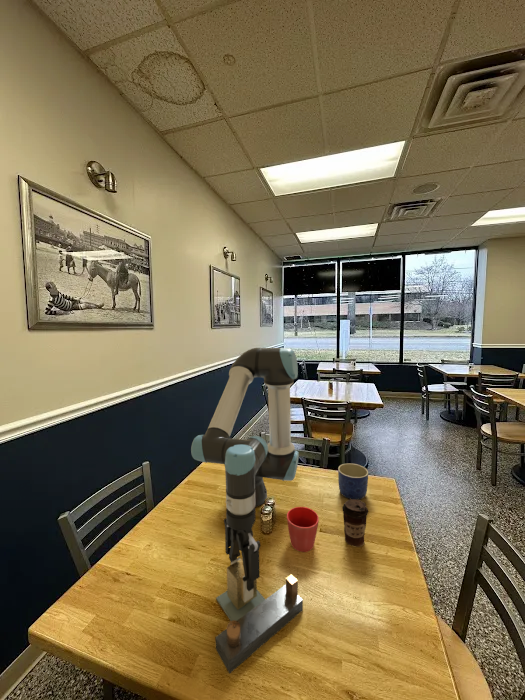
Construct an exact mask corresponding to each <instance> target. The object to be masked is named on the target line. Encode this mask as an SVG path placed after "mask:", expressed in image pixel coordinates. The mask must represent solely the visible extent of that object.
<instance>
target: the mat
mask: <svg viewBox="0 0 525 700" xmlns="http://www.w3.org/2000/svg"><path fill="white" fill-rule="evenodd" d="M215 599H216V601H217V603H218V604H219V606H220V608H221V609H222V610H223V612H224V613H225V616H227V618H228V620H229V622H230V621H233V620H235V621H237V620H239V619H240V618H241V617H243V616H244V615H245V614H247V613H248V612H249V611H251V610H252V609H253V608H255V607H256V606H257V605H259V604H260V603H261V602H263V601H264V600H265V599H266V598H265V597H264V596H263V595H262V594H261V592H260V591H259V590H258V589H257V596H256V597H255V598H254V599H252V600H251V601H249V602H248V603H247V604H245V605H244V606H243V607H241V608H240V609H238V610H237V608H236V607H235V606H234V604H233V603H232V601H231V600H230V599H229V597H228V596H227V590H225V591H224V592H223V593H221V594H219V595H217V596H216V597H215Z"/></svg>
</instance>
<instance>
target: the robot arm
mask: <svg viewBox="0 0 525 700" xmlns="http://www.w3.org/2000/svg"><path fill="white" fill-rule="evenodd" d="M298 368H299V365H298V359H297V356H296V353H295V351H294V350H293V349H292V348H286V347H285V348H284V347H253V348H250V349H248V350H246V351H245V352H243V353H242V354H240V355H239V356H238V357H237V359H235V361H234V362H233V363H232V365H231V367H230V369H229V372H228V376H229V377H228V380H227V383H226V385H225V386H224V387H225V388H224V390H223V392H222V395H221V397H220V399H219V401H218V404H217V406H216V408H215V411H214V414H213V416H212V417H211V420H210V423H209V425H208V427H207V430H206V431H205V434H199V435H197V436H195V437H194V438H193V441H192V443H191V447H190V451H191V457H192V459H194V460H195V461H197V462H202V463H207V464H208V463H210V464H220V465H224V469H225V470H224V471H225V504H226V505H225V507H226V510H225V512H226V513H225V517H226V518H224V519H223V522H224V523H223V524H224V531H225V532H224V533H225V534H224V537H225V538H224V541H225V543H224V544H225V547H224V548H225V554H226V555H227V556H228V560H229V561H230V565H232V564H233V563H235V562H237V561H239V560H240V559H242V560H243V567H244V574H245V576H243V578H242V579H243V601H244V602H246V601H248V600H249V599H251V598H252V597H253V588H254V581H255V580H256V579H260V575H261V574H260V571H261V570H260V549H261V542H260V541H259V540H257V541H256V540H255V538H254V532H253V527H254V525H255V522H256V508H257V507H259V506H261V505H263V504H264V503H265V502H266V501H265V499H266V498H267V499H268V490H267V487H266V485H265V482H264V479H265V478H266V479H272V480H279V481H283V482H284V481H285V482H287V481H288V482H289V481H290V482H291V481H294V479H295V476H296V474H297V471H298V470H297V469H298V465H299V458H300V457H299V455H300V453H299V451H297V450H296V449H295V447H296V446H295V445H294V443H293V442H292V440H291V438H292V437H291V435H292V434H291V386H292V385H294V381H295V380H296V379H298V377H299V374H298V373H299V371H298V370H299V369H298ZM255 378H262V379H263V381H264V382H263V383H264V385H266V387H267V392H268V393H267V394H268V397H267V398H268V424H269V425H268V430H269V432H268V433H269V442H268V443H267V442H266V440H265V439H264V438H263V437H262V436H259V435H252V436H250V437H248V438H247V439H240V438H231V437H230V436H231V434H232V432H233V428H234V426H235V424H236V420H237V417H238V415H239V412H240V409H241V406H242V403H243V400H244V399H245V396H246V392H247V391H248V387H249V385H250V384H251V383H253V381H254V379H255ZM267 499H266V500H267ZM264 501H265V502H264ZM240 556H241V558H240Z"/></svg>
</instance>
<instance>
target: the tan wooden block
mask: <svg viewBox="0 0 525 700" xmlns="http://www.w3.org/2000/svg"><path fill="white" fill-rule="evenodd" d="M243 576H245V574H244V567H243V560H242V558H240V560H239V561H237V562H235V563H233V564H232V565H231V564H230V565H229V566H227V567H226V589H227V590H226V591H227V596H228V597H229V599H230V600H231V601H232V603H233V604H234V606H235V607H236V608H237V610H238V609H240V608H241V607H243V606H244V605H245V604H247V603H248V602H249V601H251V600H252V599H254V598H255V597H256V596H257V590H258V589H257V579H256V580H255V581H254V588H253V597H252V598H251V599H249V600H248V601H246V602H244V601H243V579H242V578H243Z"/></svg>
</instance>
